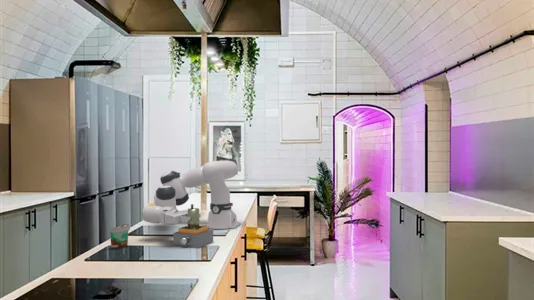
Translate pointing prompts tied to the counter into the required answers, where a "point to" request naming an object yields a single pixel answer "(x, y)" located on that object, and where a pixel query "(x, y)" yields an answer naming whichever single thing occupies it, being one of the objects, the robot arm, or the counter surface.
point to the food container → (119, 236)
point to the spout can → (193, 218)
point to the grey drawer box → (193, 237)
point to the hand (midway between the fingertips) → (195, 217)
